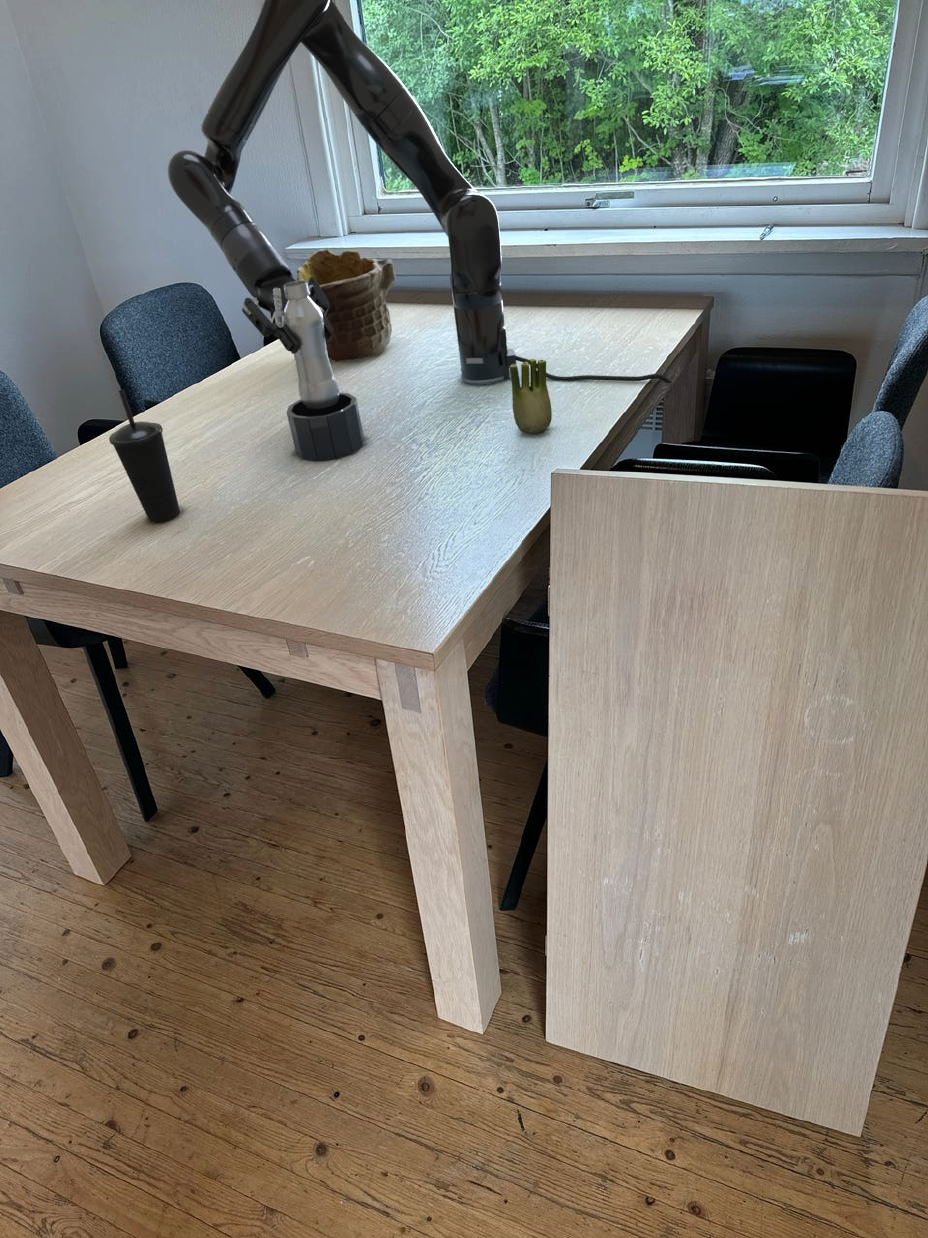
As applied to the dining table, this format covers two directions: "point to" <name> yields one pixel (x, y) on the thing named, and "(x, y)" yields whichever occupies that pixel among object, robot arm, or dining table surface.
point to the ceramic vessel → (353, 301)
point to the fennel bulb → (531, 397)
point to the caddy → (326, 429)
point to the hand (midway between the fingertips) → (313, 343)
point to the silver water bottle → (309, 347)
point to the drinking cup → (147, 466)
